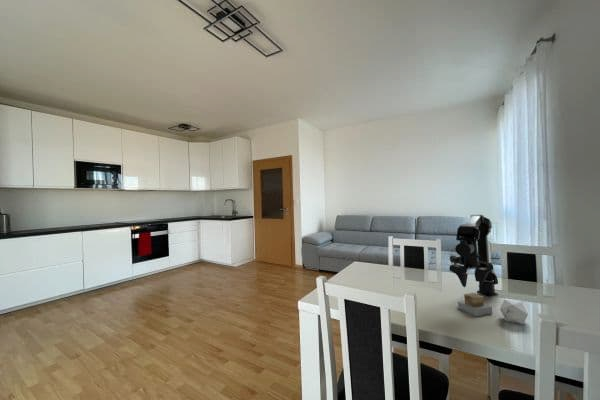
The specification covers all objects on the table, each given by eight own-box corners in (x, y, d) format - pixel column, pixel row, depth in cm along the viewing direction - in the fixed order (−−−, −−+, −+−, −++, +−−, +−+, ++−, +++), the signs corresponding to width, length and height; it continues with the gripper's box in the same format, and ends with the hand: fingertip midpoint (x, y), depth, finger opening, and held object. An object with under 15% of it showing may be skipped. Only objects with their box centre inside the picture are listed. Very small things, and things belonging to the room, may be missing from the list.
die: (495, 316, 102) (493, 303, 97) (510, 304, 102) (509, 291, 98) (517, 332, 94) (516, 319, 90) (534, 319, 95) (533, 305, 90)
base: (473, 305, 112) (473, 298, 112) (492, 313, 103) (491, 306, 103) (458, 307, 110) (457, 301, 110) (475, 316, 101) (475, 309, 102)
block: (483, 305, 105) (483, 296, 105) (474, 307, 104) (473, 298, 104) (473, 301, 110) (473, 292, 110) (464, 302, 109) (464, 294, 109)
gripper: (470, 247, 117) (473, 278, 116) (439, 251, 113) (441, 282, 113) (492, 251, 106) (495, 285, 106) (458, 255, 102) (461, 290, 102)
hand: (472, 285), depth 107 cm, fingers open, 9 cm apart
